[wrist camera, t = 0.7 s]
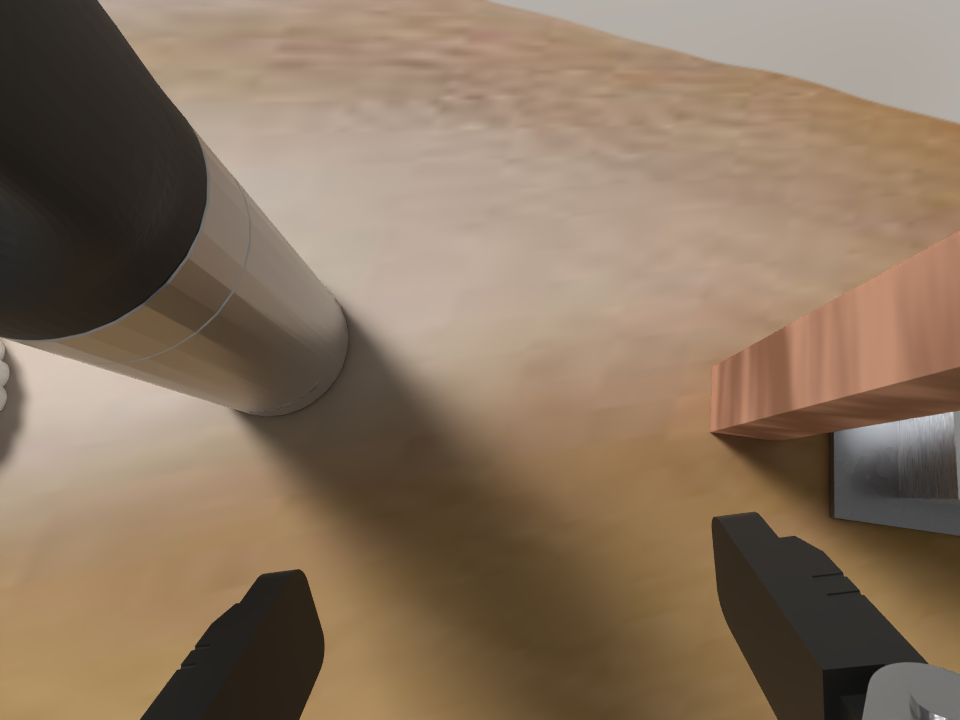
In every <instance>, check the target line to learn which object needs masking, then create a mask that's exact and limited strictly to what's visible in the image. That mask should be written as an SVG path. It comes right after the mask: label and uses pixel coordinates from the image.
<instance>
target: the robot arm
mask: <svg viewBox="0 0 960 720" xmlns="http://www.w3.org/2000/svg"><path fill="white" fill-rule="evenodd" d="M0 337H1V338H5V339H8V340H11V341H14V342H18V343H21V344H24V345H27V346H31V347H34V348H37V349H40V350H44V351H47V352H50V353H53V354H57V355H60V356H63V357H66V358H70V359H74V360H77V361H80V362H83V363H87V364H90V365H93V366H96V367H100V368H103V369H106V370H109V371H113V372H116V373H119V374H122V375H125V376H129V377H132V378H135V379H138V380H142V381H145V382H148V383H151V384H155V385H158V386H161V387H164V388H168V389H171V390H174V391H177V392H180V393H184V394H187V395H190V396H193V397H197V398H200V399H203V400H206V401H210V402H213V403H216V404H219V405H223V406H226V407H229V408H232V409H236V410H239V411H242V412H245V413H248V414H252V415H260V416H277V415H285V414H288V413H291V412H295V411H298V410H300V409H302V408H304V407H306V406H307V405H309V404H311V403H313V402H314V401H315V400H317V399H318V398H319V397H320V396H322V395H323V394H324V393H325V392H326V391H327V390H328V389H329V387H330V386H331V385H332V384H333V382H334V381H335V380H336V378H337V376H338V375H339V373H340V371H341V369H342V367H343V365H344V361H345V357H346V354H347V350H348V330H347V323H346V320H345V317H344V315H343V312H342V310H341V307H340V306H339V305H338V303H337V302H336V300H335V299H334V297H333V296H332V295H331V294H330V292H329V291H328V290H327V289H326V288H325V286H324V285H323V284H322V283H321V282H320V280H319V279H318V278H317V277H316V275H315V274H314V273H313V271H312V270H311V269H310V268H309V267H308V265H307V264H306V263H305V262H304V261H303V259H302V258H301V257H300V256H299V255H298V253H297V252H296V251H295V250H294V249H293V247H292V246H291V245H290V244H289V243H288V241H287V240H286V239H285V238H284V237H283V235H282V234H281V233H280V232H279V231H278V229H277V228H276V227H275V226H274V225H273V223H272V222H271V221H270V220H269V219H268V217H267V216H266V215H265V214H264V213H263V211H262V210H261V209H260V208H259V207H258V205H257V204H256V203H255V202H254V201H253V199H252V198H251V197H250V196H249V195H248V193H247V192H246V191H245V190H244V188H243V187H242V186H241V185H240V184H239V182H238V181H237V180H236V179H235V178H234V177H233V175H232V174H231V173H230V172H229V171H228V170H227V168H226V167H225V166H224V165H223V164H222V163H221V161H220V160H219V159H218V158H217V157H216V155H215V154H214V153H213V152H212V151H211V149H210V148H209V147H208V146H207V145H206V143H205V142H204V141H203V140H202V138H201V137H200V136H199V135H198V134H197V132H196V131H195V130H194V129H193V128H192V127H191V125H190V124H189V123H188V121H187V120H186V118H185V117H184V116H183V115H182V113H181V112H180V111H179V110H178V109H177V107H176V106H175V105H174V104H173V103H172V101H171V100H170V99H169V98H168V97H167V95H166V94H165V93H164V92H163V90H162V89H161V88H160V86H159V85H158V84H157V82H156V81H155V80H154V78H153V77H152V75H151V74H150V73H149V71H148V70H147V68H146V67H145V66H144V64H143V63H142V61H141V60H140V59H139V57H138V56H137V54H136V53H135V52H134V50H133V49H132V47H131V46H130V45H129V43H128V42H127V40H126V39H125V38H124V36H123V35H122V33H121V32H120V30H119V29H118V28H117V26H116V25H115V23H114V22H113V21H112V19H111V18H110V17H109V15H108V14H107V13H106V11H105V10H104V9H103V7H102V6H101V5H100V3H99V2H98V1H97V0H0ZM712 538H713V549H714V560H715V570H716V581H717V591H718V596H719V601H720V605H721V608H722V612H723V615H724V617H725V620H726V622H727V625H728V627H729V629H730V630H731V632H732V634H733V636H734V638H735V640H736V642H737V644H738V645H739V647H740V649H741V651H742V653H743V655H744V657H745V659H746V661H747V662H748V664H749V666H750V668H751V670H752V672H753V674H754V676H755V678H756V679H757V681H758V683H759V685H760V687H761V689H762V691H763V693H764V694H765V696H766V698H767V700H768V702H769V704H770V706H771V708H772V710H773V711H774V713H775V715H776V717H777V719H778V720H960V674H958V673H956V672H953V671H950V670H947V669H945V668H941V667H937V666H933V665H929V664H928V663H927V662H926V661H925V660H924V658H923V657H922V656H921V655H920V654H919V653H918V652H917V651H916V650H915V649H914V648H913V647H912V646H911V645H910V644H909V642H908V641H907V640H906V639H905V638H904V637H903V636H902V635H901V634H900V633H899V632H898V631H897V630H896V629H895V628H894V626H893V625H892V624H891V623H890V622H889V621H888V620H887V619H886V618H885V617H884V616H883V615H882V614H881V613H880V612H879V610H878V609H877V608H876V607H875V606H874V605H873V604H872V603H871V602H870V601H869V600H868V599H867V598H866V597H865V596H864V595H861V594H860V590H859V589H858V588H857V587H856V586H855V585H854V584H853V583H852V582H851V581H850V580H849V579H848V577H844V575H843V572H842V571H841V570H840V569H839V568H838V567H837V566H836V565H835V564H834V563H833V561H832V560H831V559H830V558H829V557H828V556H827V555H826V554H825V553H824V552H823V551H821V550H819V549H818V548H816V547H814V546H812V545H810V544H809V543H807V542H805V541H803V540H801V539H800V538H798V537H796V536H790V537H782V538H779V537H778V536H777V535H776V534H775V532H774V531H773V530H772V529H771V528H770V527H769V525H768V524H767V523H766V522H765V521H764V519H763V518H762V517H761V516H760V515H759V514H758V513H757V512H749V513H741V514H733V515H725V516H717V517H713V519H712ZM323 658H324V635H323V631H322V628H321V624H320V621H319V618H318V614H317V611H316V608H315V604H314V601H313V598H312V594H311V591H310V587H309V584H308V581H307V578H306V576H305V574H304V573H303V571H301V570H299V569H298V570H289V571H282V572H274V573H266V574H262V575H260V576H259V577H258V578H257V580H256V581H255V582H254V584H253V585H252V587H251V588H250V589H249V591H248V592H247V594H246V595H245V596H244V598H243V599H242V601H241V602H240V603H237V604H235V605H233V606H232V607H231V608H230V609H229V610H228V611H226V612H225V613H224V614H223V615H222V616H220V617H219V618H218V619H217V620H216V621H214V622H213V623H212V624H211V625H210V627H209V628H208V629H207V631H206V632H205V633H204V635H203V636H202V637H201V639H200V640H199V641H198V643H197V644H196V645H195V650H192V651H191V652H190V653H189V655H188V656H187V657H186V659H185V660H184V661H183V663H182V664H181V669H179V670H177V671H176V672H175V673H174V675H173V676H172V678H171V679H170V680H169V682H168V683H167V684H166V686H165V687H164V688H163V690H162V691H161V692H160V694H159V695H158V696H157V698H156V699H155V700H154V702H153V703H152V704H151V706H150V707H149V708H148V710H147V711H146V712H145V714H144V715H143V716H142V718H141V719H140V720H299V719H300V716H301V714H302V712H303V709H304V707H305V705H306V702H307V700H308V698H309V695H310V693H311V691H312V688H313V686H314V684H315V681H316V679H317V677H318V674H319V672H320V670H321V667H322V663H323Z"/></svg>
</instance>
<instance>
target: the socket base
mask: <svg viewBox="0 0 960 720" xmlns="http://www.w3.org/2000/svg"><path fill="white" fill-rule="evenodd" d="M829 492H830V517H832V518H838V519H845V520H852V521H859V522H866V523H873V524H880V525H887V526H893V527H900V528H907V529H914V530H921V531H928V532H935V533H942V534H948V535H955V536H960V411H955V412H949V413H943V414H937V415H931V416H925V417H919V418H913V419H907V420H901V421H895V422H889V423H883V424H877V425H871V426H866V427H860V428H854V429H848V430H842V431H836V432H830V433H829Z"/></svg>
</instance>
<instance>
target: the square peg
mask: <svg viewBox="0 0 960 720" xmlns="http://www.w3.org/2000/svg"><path fill="white" fill-rule="evenodd" d="M955 411H960V230H959V231H957V232H956V233H954V234H952V235H950V236H948V237H947V238H945V239H943V240H941V241H939V242H937V243H936V244H934V245H932V246H930V247H928V248H927V249H925V250H923V251H921V252H919V253H918V254H916V255H914V256H912V257H910V258H909V259H907V260H905V261H903V262H901V263H900V264H898V265H896V266H894V267H892V268H891V269H889V270H887V271H885V272H883V273H882V274H880V275H878V276H876V277H874V278H872V279H871V280H869V281H867V282H865V283H863V284H862V285H860V286H858V287H856V288H854V289H853V290H851V291H849V292H847V293H845V294H844V295H842V296H840V297H838V298H836V299H835V300H833V301H831V302H829V303H827V304H826V305H824V306H822V307H820V308H818V309H816V310H815V311H813V312H811V313H809V314H807V315H806V316H804V317H802V318H800V319H798V320H797V321H795V322H793V323H791V324H789V325H788V326H786V327H784V328H782V329H780V330H779V331H777V332H775V333H773V334H771V335H770V336H768V337H766V338H764V339H762V340H761V341H759V342H757V343H755V344H753V345H751V346H750V347H748V348H746V349H744V350H742V351H741V352H739V353H737V354H735V355H733V356H732V357H730V358H728V359H726V360H724V361H723V362H721V363H719V364H717V365H715V366H714V367H713V368H712V394H711V420H710V432H713V433H721V434H728V435H736V436H744V437H751V438H759V439H766V440H774V441H782V440H788V439H794V438H800V437H806V436H812V435H818V434H824V433H830V432H836V431H842V430H848V429H854V428H860V427H866V426H871V425H877V424H883V423H889V422H895V421H901V420H907V419H913V418H919V417H925V416H931V415H937V414H943V413H949V412H955Z"/></svg>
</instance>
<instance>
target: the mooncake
mask: <svg viewBox="0 0 960 720" xmlns="http://www.w3.org/2000/svg"><path fill="white" fill-rule="evenodd" d="M4 354H5V347H4V345H3V343H2V342H1V341H0V411H1V410H2V409H3V407H4V406H5V404H6V401H7V393H6V390H5V389H4V388H3V386H4V385H5V384H6V383H7V381H8V379H9V376H10V370H9V367H8V365H7V364H6V363H5V362H3V361H2V359H3V357H4Z"/></svg>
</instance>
